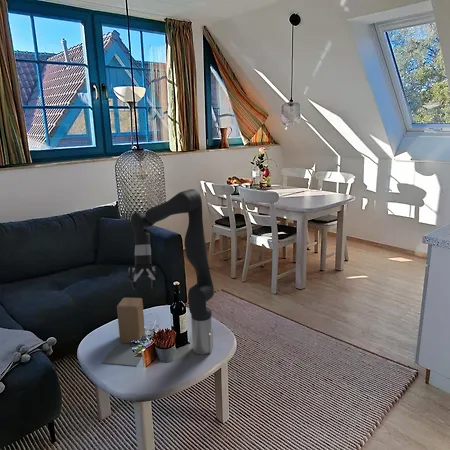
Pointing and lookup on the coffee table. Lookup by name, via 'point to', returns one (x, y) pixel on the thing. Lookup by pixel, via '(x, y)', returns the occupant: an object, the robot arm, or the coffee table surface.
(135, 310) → the wooden block
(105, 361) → the slate mat
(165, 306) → the coffee table surface
